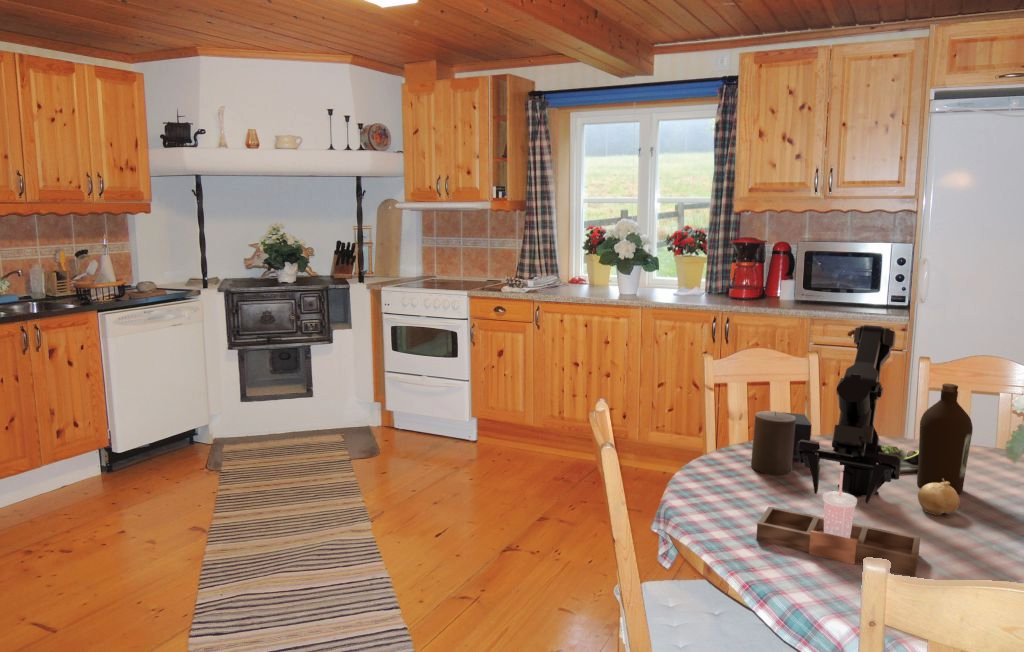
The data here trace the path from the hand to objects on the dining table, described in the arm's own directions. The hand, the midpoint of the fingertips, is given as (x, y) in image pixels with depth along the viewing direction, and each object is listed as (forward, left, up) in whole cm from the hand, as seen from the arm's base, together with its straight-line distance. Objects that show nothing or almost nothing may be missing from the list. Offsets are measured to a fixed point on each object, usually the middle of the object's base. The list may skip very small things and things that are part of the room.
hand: (840, 497), depth 148 cm
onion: (-32, -9, -10) cm, 35 cm away
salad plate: (-45, -38, -10) cm, 60 cm away
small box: (-23, -48, -10) cm, 55 cm away
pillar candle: (-12, -41, -10) cm, 44 cm away
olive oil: (-43, -20, -10) cm, 49 cm away
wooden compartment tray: (+1, +1, -10) cm, 10 cm away
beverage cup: (+1, +1, -9) cm, 9 cm away
